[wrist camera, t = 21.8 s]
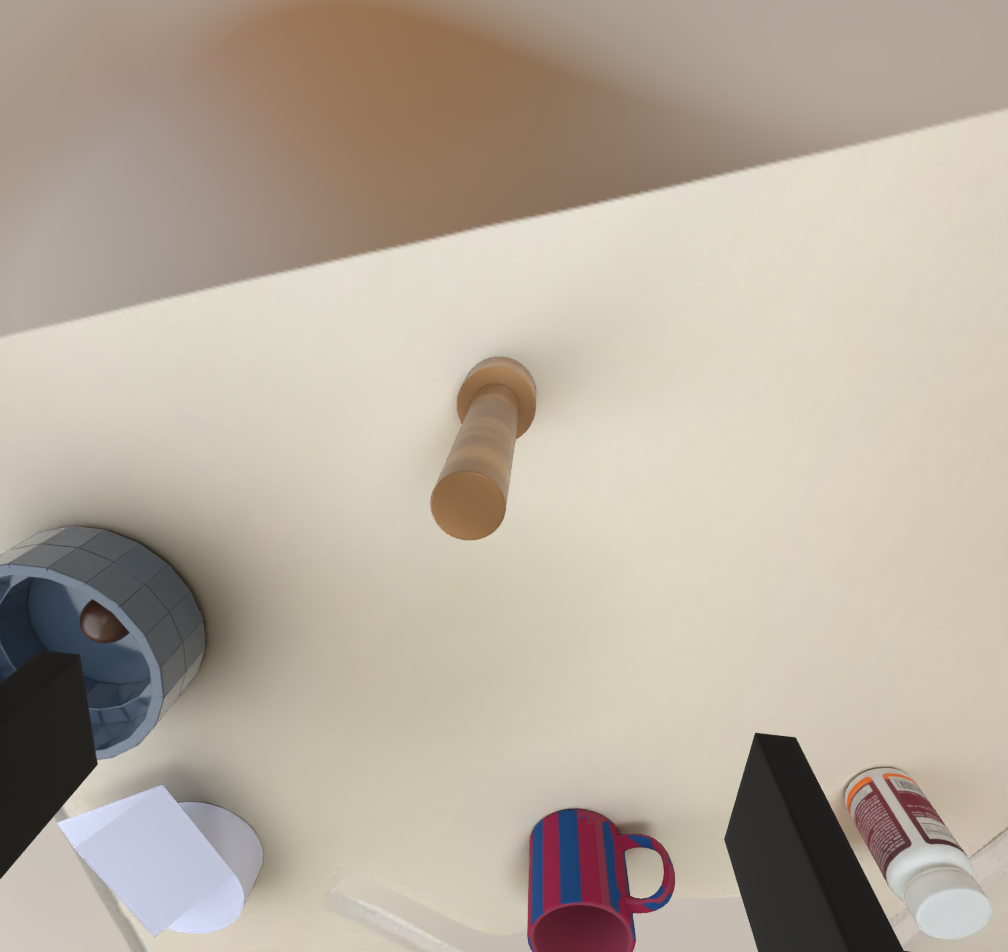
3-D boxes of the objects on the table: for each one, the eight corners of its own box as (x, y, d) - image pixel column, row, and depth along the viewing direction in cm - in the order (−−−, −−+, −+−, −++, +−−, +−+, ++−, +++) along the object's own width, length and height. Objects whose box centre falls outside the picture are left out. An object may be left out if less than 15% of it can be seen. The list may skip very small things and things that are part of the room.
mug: (515, 822, 46) (510, 916, 40) (648, 784, 44) (666, 876, 38) (550, 886, 48) (552, 985, 42) (680, 852, 46) (702, 950, 40)
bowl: (-12, 511, 40) (-95, 551, 35) (202, 535, 39) (150, 579, 34) (24, 688, 44) (-44, 747, 39) (215, 711, 44) (172, 773, 39)
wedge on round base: (89, 783, 47) (190, 902, 51) (19, 867, 41) (140, 995, 45) (189, 746, 45) (285, 872, 49) (131, 828, 39) (247, 965, 43)
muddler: (483, 343, 34) (437, 424, 19) (549, 378, 35) (554, 483, 20) (451, 408, 36) (384, 529, 21) (515, 440, 36) (495, 582, 21)
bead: (75, 599, 37) (101, 579, 40) (63, 644, 38) (90, 621, 41) (128, 615, 38) (150, 594, 41) (115, 658, 38) (138, 635, 41)
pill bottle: (854, 827, 44) (921, 954, 37) (833, 778, 43) (898, 898, 35) (925, 807, 43) (1009, 932, 36) (906, 756, 42) (989, 875, 34)
